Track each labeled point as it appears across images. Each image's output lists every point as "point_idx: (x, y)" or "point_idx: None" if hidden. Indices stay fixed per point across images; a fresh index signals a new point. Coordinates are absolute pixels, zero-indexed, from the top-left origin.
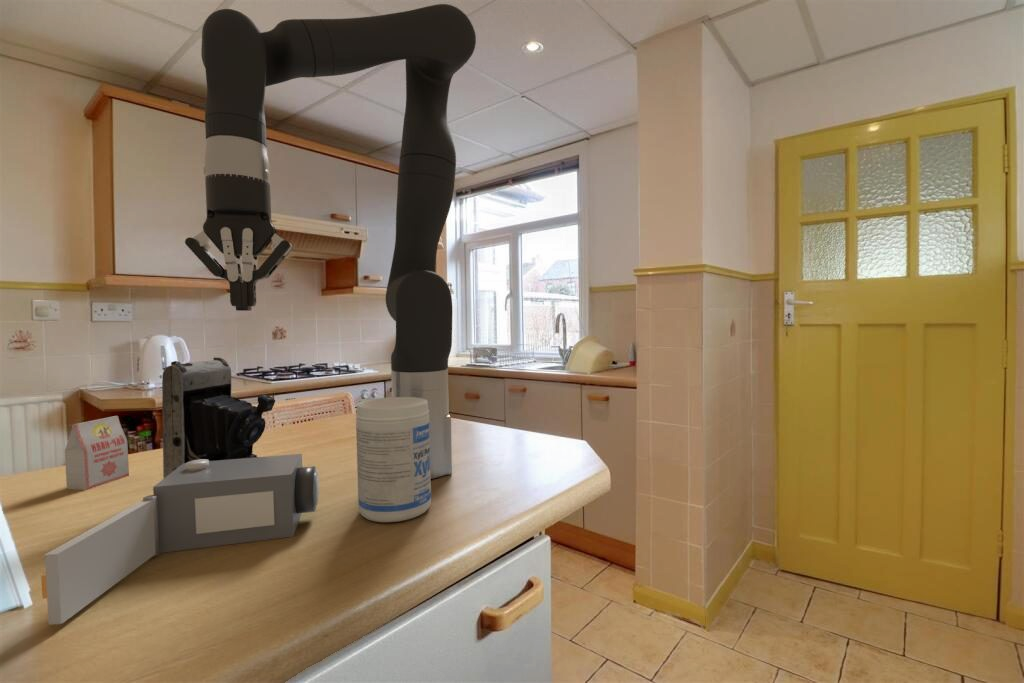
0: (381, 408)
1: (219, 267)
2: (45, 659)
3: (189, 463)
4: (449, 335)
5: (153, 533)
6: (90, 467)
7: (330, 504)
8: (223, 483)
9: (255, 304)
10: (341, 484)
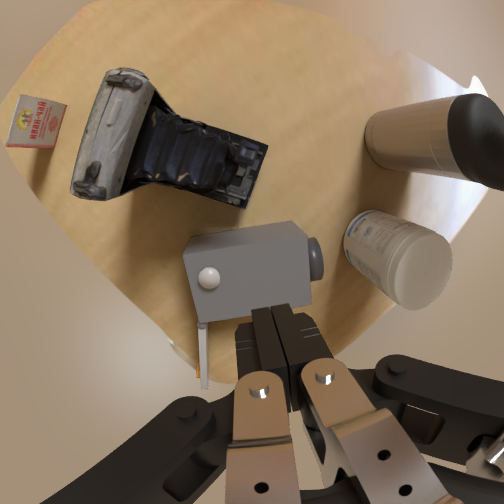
0: (412, 309)
1: (220, 472)
2: (218, 377)
3: (203, 283)
4: None
5: None
6: (44, 142)
7: (314, 215)
8: None
9: (307, 315)
10: (315, 157)
